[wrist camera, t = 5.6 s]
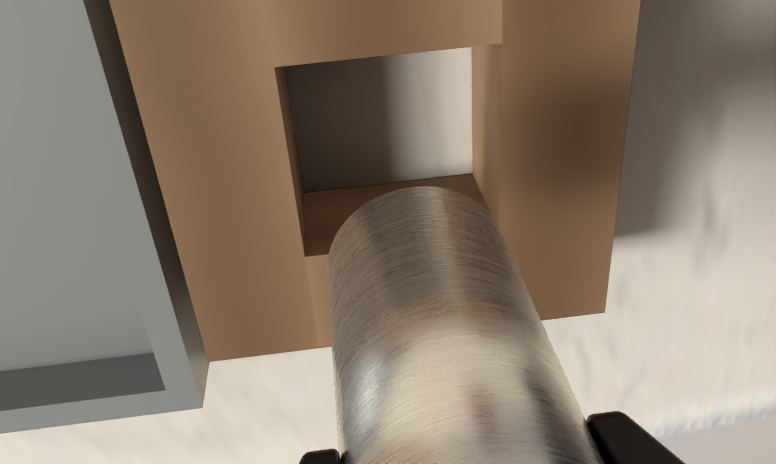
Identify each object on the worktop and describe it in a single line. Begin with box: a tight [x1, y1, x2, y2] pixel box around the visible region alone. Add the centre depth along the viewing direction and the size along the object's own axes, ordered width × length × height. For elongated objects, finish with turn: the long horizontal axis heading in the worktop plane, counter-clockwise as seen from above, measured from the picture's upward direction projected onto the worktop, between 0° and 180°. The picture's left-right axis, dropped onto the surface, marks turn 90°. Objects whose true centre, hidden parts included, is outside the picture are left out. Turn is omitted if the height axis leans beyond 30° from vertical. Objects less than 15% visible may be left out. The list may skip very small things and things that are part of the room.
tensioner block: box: [109, 0, 641, 362], centre depth 17 cm, size 10×10×3 cm
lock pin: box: [327, 186, 605, 464], centre depth 9 cm, size 3×3×8 cm
